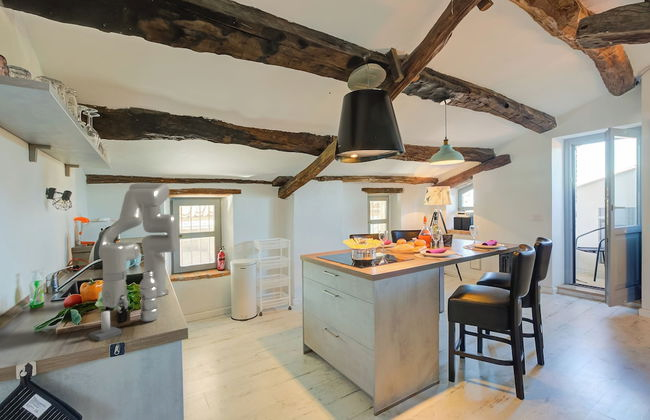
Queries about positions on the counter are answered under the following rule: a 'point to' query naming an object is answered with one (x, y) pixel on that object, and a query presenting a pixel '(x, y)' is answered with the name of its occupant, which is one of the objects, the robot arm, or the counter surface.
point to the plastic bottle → (148, 297)
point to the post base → (105, 335)
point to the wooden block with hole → (115, 319)
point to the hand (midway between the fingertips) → (115, 320)
